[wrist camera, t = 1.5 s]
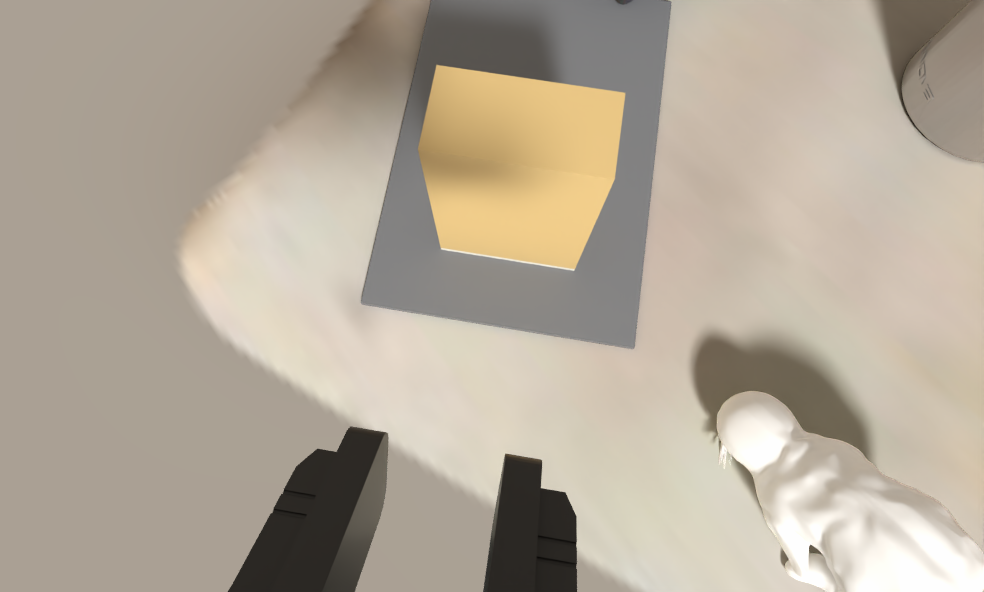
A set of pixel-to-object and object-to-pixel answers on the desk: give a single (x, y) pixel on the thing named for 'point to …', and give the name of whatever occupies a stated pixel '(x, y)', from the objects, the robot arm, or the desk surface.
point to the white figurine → (844, 509)
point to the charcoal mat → (624, 216)
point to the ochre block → (518, 164)
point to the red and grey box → (623, 1)
